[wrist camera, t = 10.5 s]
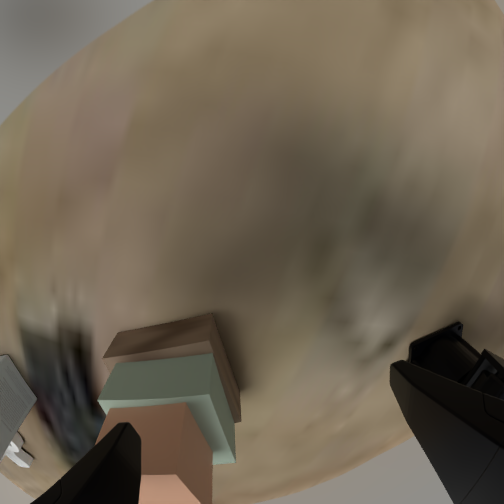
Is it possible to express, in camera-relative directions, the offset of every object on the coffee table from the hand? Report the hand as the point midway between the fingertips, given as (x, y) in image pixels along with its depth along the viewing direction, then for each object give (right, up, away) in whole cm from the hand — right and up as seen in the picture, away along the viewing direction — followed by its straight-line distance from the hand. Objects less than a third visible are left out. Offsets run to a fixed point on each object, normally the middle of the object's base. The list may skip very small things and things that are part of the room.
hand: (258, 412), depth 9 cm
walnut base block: (-6, -4, +15) cm, 16 cm away
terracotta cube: (-6, -6, +7) cm, 11 cm away
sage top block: (-6, -5, +11) cm, 13 cm away
